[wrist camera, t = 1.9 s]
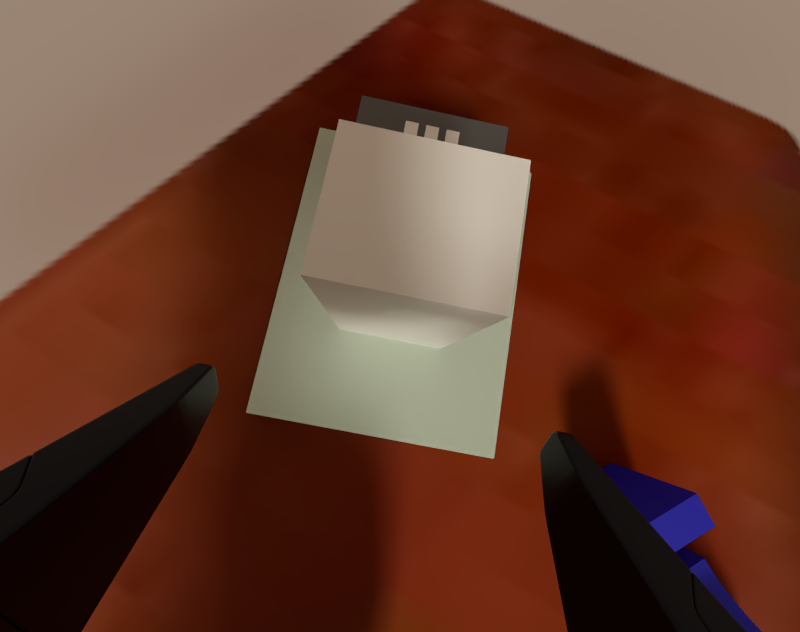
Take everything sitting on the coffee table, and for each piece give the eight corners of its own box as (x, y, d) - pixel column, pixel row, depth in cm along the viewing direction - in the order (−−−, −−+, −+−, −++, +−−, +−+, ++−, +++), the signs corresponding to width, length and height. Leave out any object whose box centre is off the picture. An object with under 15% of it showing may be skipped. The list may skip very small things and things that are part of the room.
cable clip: (738, 648, 20) (886, 757, 14) (675, 692, 20) (803, 826, 14) (629, 450, 22) (722, 477, 16) (568, 486, 21) (641, 527, 15)
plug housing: (440, 348, 21) (509, 316, 10) (339, 329, 21) (300, 274, 10) (453, 268, 22) (530, 160, 11) (357, 248, 22) (339, 118, 11)
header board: (488, 455, 21) (523, 478, 16) (252, 411, 21) (212, 421, 16) (525, 181, 24) (563, 129, 19) (322, 137, 24) (308, 73, 19)
